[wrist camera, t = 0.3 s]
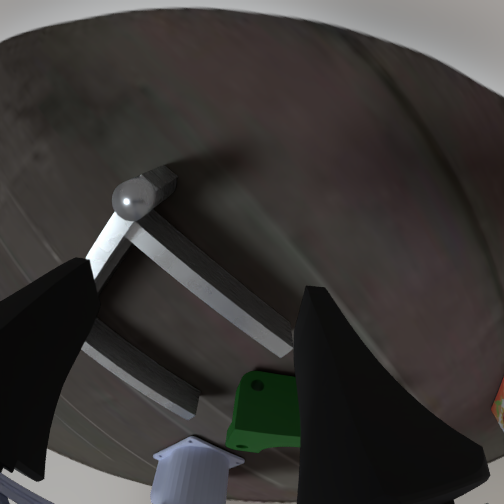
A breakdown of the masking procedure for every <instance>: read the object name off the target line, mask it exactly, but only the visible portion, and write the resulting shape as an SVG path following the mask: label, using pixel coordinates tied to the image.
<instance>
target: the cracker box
mask: <svg viewBox="0 0 504 504" xmlns="http://www.w3.org/2000/svg"><path fill="white" fill-rule="evenodd" d="M491 411H492V413H493V414H494V416H495V418H496V419H497V421H498V423H499V425H500V427H501V428H502V430H503V432H504V377H503V380H502V383H501V386H500V388H499V391H498V393H497V396H496V398H495V401H494V403H493V405H492V408H491Z"/></svg>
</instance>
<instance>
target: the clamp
mask: <svg viewBox="0 0 504 504" xmlns="http://www.w3.org/2000/svg"><path fill="white" fill-rule="evenodd" d="M300 436H301V428H300V413H299V403H298V394H297V385H296V377H293V376H286V375H279V374H273V373H267V372H261V371H250V372H248V373H246V374H245V375H244V376H243V377H242V379H241V381H240V384H239V386H238V388H237V391H236V396H235V404H234V411H233V419H232V423H231V425H230V427H229V428H228V430H227V437H226V444H225V445H226V446H227V447H228V448H231V449H234V450H240V451H247V452H255V453H260V451H261V450H263V449H266V448H271V447H300Z"/></svg>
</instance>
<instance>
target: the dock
mask: <svg viewBox="0 0 504 504" xmlns="http://www.w3.org/2000/svg"><path fill="white" fill-rule="evenodd" d="M177 178H178V176H177V175H176V174H174V173H173V172H172V171H171V170H170V169H169V168H167V167H166V166H165V165H163V166H160V167H158V168H155V169H153V170H150V171H148V172H146V173H143V174H141V175H139V176H137V177H135V178H132V179H130V180H128V181H126V182H123V183H121V184H120V185H118V186H117V187H116V189H115V190H114V193H113V196H112V204H113V208H114V210H115V212H114V214H113V215H112V217H111V218H110V220H109V221H108V223H107V225H106V226H105V228H104V229H103V231H102V232H101V234H100V236H99V237H98V239H97V240H96V242H95V244H94V245H93V247H92V249H91V250H90V252H89V254H88V255H87V257H86V259H90V263H91V267H92V272H93V276H94V280H95V284H96V289H97V292H98V296H99V295H100V293H101V292H102V290H103V289H104V287H105V286H106V284H107V283H108V281H109V280H110V278H111V277H112V275H113V274H114V273H115V271H116V270H117V268H118V267H119V265H120V264H121V263H122V261H123V260H124V258H125V257H126V256H127V254H128V253H129V251H130V250H131V249H132V247H133V246H134V245H135V246H137V247H138V248H139V249H140V250H141V251H142V252H144V253H145V254H146V255H147V256H148V257H150V258H151V259H152V260H153V261H154V262H156V263H157V264H158V265H159V266H160V267H162V268H163V269H164V270H165V271H166V272H168V273H169V274H170V275H171V276H173V277H174V278H175V279H176V280H177V281H179V282H180V283H181V284H182V285H184V286H185V287H186V288H187V289H189V290H190V291H191V292H192V293H194V294H195V295H196V296H198V297H199V298H200V299H201V300H203V301H204V302H205V303H207V304H208V305H209V306H210V307H212V308H213V309H214V310H216V311H217V312H218V313H220V314H221V315H222V316H224V317H225V318H226V319H228V320H229V321H230V322H232V323H233V324H234V325H236V326H237V327H238V328H240V329H241V330H242V331H244V332H245V333H246V334H248V335H249V336H251V337H252V338H253V339H255V340H256V341H257V342H259V343H260V344H262V345H263V346H264V347H266V348H267V349H269V350H270V351H271V352H273V353H274V354H276V355H277V356H279V357H280V358H282V357H283V356H284V355H286V354H287V353H288V352H290V351H291V350H292V349H294V347H293V339H292V331H291V323H290V322H289V321H288V320H286V319H285V318H284V317H283V316H281V315H280V314H279V313H278V312H276V311H275V310H274V309H273V308H271V307H270V306H269V305H268V304H266V303H265V302H264V301H263V300H261V299H260V298H259V297H258V296H256V295H255V294H254V293H253V292H251V291H250V290H249V289H248V288H247V287H245V286H244V285H243V284H242V283H240V282H239V281H238V280H237V279H236V278H234V277H233V276H232V275H231V274H229V273H228V272H227V271H226V270H225V269H223V268H222V267H221V266H220V265H219V264H217V263H216V262H215V261H214V260H213V259H211V258H210V257H209V256H208V255H207V254H205V253H204V252H203V251H202V250H201V249H199V248H198V247H197V246H196V245H195V244H193V243H192V242H191V241H190V240H189V239H188V238H186V237H185V236H184V235H183V234H182V233H180V232H179V231H178V230H177V229H176V228H175V227H173V226H172V225H171V224H170V223H169V222H168V221H166V220H165V219H164V218H163V217H162V216H161V215H159V214H158V213H157V212H156V211H155V210H154V209H153V208H155V207H156V206H157V205H158V204H160V203H161V202H162V201H164V200H165V199H166V198H167V197H169V196H170V195H171V194H172V193H173V192H174V191H175V189H176V185H177V180H176V179H177ZM81 349H82V350H83V351H84V352H85V353H87V354H88V355H89V356H91V357H92V358H93V359H95V360H96V361H97V362H98V363H100V364H101V365H102V366H104V367H105V368H107V369H108V370H109V371H111V372H112V373H113V374H115V375H116V376H118V377H119V378H121V379H122V380H123V381H125V382H126V383H128V384H129V385H131V386H132V387H134V388H135V389H137V390H138V391H140V392H141V393H143V394H144V395H146V396H148V397H149V398H151V399H152V400H154V401H156V402H157V403H159V404H160V405H162V406H164V407H165V408H167V409H169V410H171V411H172V412H174V413H176V414H177V415H179V416H181V417H183V418H185V419H186V420H189V419H191V418H192V417H194V416H195V415H196V411H197V406H198V401H199V396H200V390H198V389H196V388H195V387H193V386H192V385H190V384H188V383H187V382H185V381H184V380H182V379H181V378H179V377H177V376H176V375H174V374H173V373H171V372H170V371H168V370H167V369H165V368H164V367H162V366H161V365H160V364H158V363H157V362H155V361H154V360H152V359H151V358H149V357H148V356H147V355H145V354H144V353H142V352H141V351H140V350H138V349H137V348H136V347H134V346H133V345H132V344H130V343H129V342H128V341H126V340H125V339H124V338H122V337H121V336H120V335H118V334H117V333H116V332H114V331H113V330H112V329H111V328H109V327H108V326H107V325H106V324H104V323H103V322H102V321H101V320H99V319H98V318H97V317H96V319H95V322H94V324H93V327H92V329H91V331H90V333H89V335H88V337H87V339H86V341H85V343H84V344H83V346H82V348H81Z"/></svg>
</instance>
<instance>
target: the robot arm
mask: <svg viewBox="0 0 504 504" xmlns="http://www.w3.org/2000/svg"><path fill="white" fill-rule="evenodd" d="M100 306H101V304H100V300H99V296H98V292H97V289H96V284H95V280H94V276H93V272H92V267H91V263H90V259H83V258H77V257H76V258H74V259H71V260H69V261H67V262H65V263H64V264H62V265H60V266H58V267H57V268H55V269H53V270H52V271H50V272H48V273H47V274H45V275H43V276H42V277H40V278H38V279H37V280H35V281H34V282H32V283H30V284H29V285H27V286H26V287H24V288H22V289H21V290H19V291H17V292H15V293H14V294H12V295H10V296H9V297H7V298H6V299H4V300H2V301H0V504H9V501H8V498H9V499H11V500H13V501H14V502H16V503H17V504H54V503H52V502H50V501H48V500H46V499H44V498H42V497H40V496H38V495H37V494H35V493H33V492H31V491H30V490H28V489H26V488H24V487H23V486H21V485H19V484H18V483H16V482H14V481H13V480H11V479H9V478H8V477H6V476H5V475H3V474H2V473H1V472H2V469H3V468H4V469H6V470H8V471H9V472H11V473H12V472H13V471H14V469H15V470H17V471H18V472H20V473H22V474H24V475H25V476H27V477H29V478H31V479H32V480H34V481H36V482H37V481H41V480H43V479H44V474H45V460H46V451H47V445H48V439H49V433H50V428H51V424H52V420H53V416H54V412H55V408H56V405H57V402H58V399H59V396H60V393H61V390H62V387H63V384H64V382H65V380H66V378H67V375H68V373H69V371H70V369H71V367H72V365H73V364H74V362H75V360H76V358H77V356H78V354H79V352H80V350H81V348H82V346H83V344H84V343H85V341H86V339H87V337H88V335H89V333H90V331H91V329H92V327H93V324H94V322H95V319H96V317H97V314H98V311H99V309H100ZM294 367H295V376H296V385H297V394H298V403H299V413H300V428H301V436H300V467H299V484H298V496H297V504H454V499H456V498H458V497H460V496H462V495H464V494H466V493H467V492H469V491H471V490H473V489H474V488H476V487H478V486H480V485H481V484H483V483H484V482H486V481H487V480H488V478H489V477H490V472H489V468H488V464H487V461H486V457H485V454H484V451H483V448H482V446H480V445H478V444H477V443H475V442H473V441H472V440H470V439H469V438H467V437H465V436H464V435H462V434H460V433H459V432H457V431H456V430H454V429H453V428H451V427H450V426H449V425H447V424H446V423H444V422H443V421H442V420H440V419H439V418H438V417H436V416H435V415H434V414H433V413H431V412H430V411H429V410H428V409H426V408H425V407H424V406H423V405H422V404H421V403H419V402H418V401H417V400H416V399H415V398H414V397H413V396H412V395H411V394H409V393H408V392H407V391H406V390H405V389H404V388H403V387H402V386H401V385H400V384H399V383H398V382H397V381H396V380H395V379H394V378H393V377H392V376H391V375H390V373H389V372H388V371H387V370H386V369H385V368H384V367H383V366H382V365H381V364H380V362H379V361H378V360H377V359H376V358H375V357H374V355H373V354H372V353H371V352H370V350H369V349H368V348H367V347H366V345H365V344H364V343H363V341H362V340H361V339H360V337H359V336H358V335H357V333H356V332H355V331H354V329H353V328H352V326H351V325H350V324H349V322H348V321H347V319H346V318H345V316H344V315H343V313H342V312H341V310H340V309H339V307H338V306H337V305H336V303H335V301H334V300H333V298H332V297H331V296H330V294H329V293H328V291H327V290H326V288H325V287H315V286H306V287H305V291H304V295H303V299H302V303H301V307H300V311H299V315H298V318H297V322H296V326H295V330H294ZM153 457H154V458H155V459H157V460H159V462H158V466H157V470H156V474H155V478H154V482H153V486H152V490H151V496H150V497H151V502H152V504H226V495H227V484H228V473H229V469H230V468H233V467H235V466H238V465H240V464H243V463H244V462H245V460H244V459H243V458H241V457H238V456H236V455H234V454H231V453H229V452H227V451H225V450H222V449H220V448H218V447H216V446H214V445H212V444H210V443H208V442H205V441H203V440H201V439H199V438H197V437H195V436H190V437H188V438H186V439H184V440H182V441H180V442H178V443H176V444H174V445H172V446H170V447H168V448H166V449H164V450H162V451H160V452H158V453H156V454H154V455H153ZM7 497H8V498H7ZM486 504H488V503H486Z"/></svg>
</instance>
